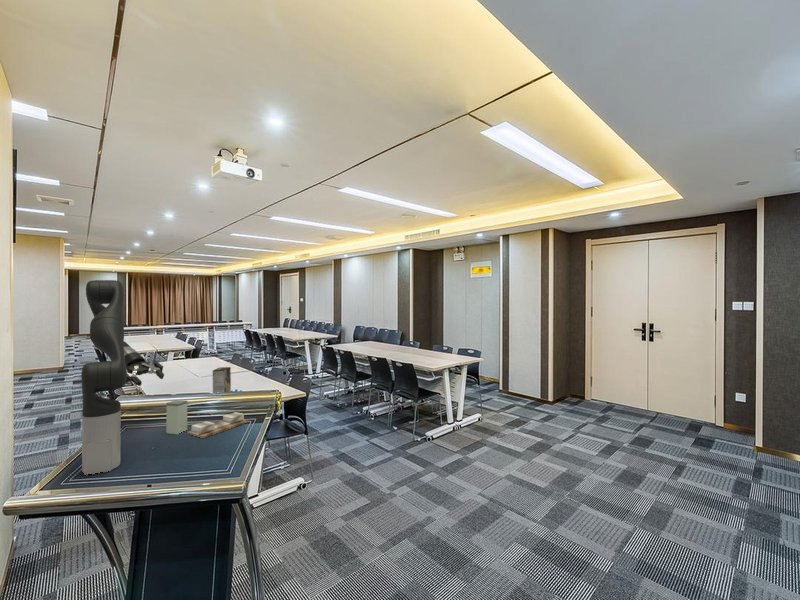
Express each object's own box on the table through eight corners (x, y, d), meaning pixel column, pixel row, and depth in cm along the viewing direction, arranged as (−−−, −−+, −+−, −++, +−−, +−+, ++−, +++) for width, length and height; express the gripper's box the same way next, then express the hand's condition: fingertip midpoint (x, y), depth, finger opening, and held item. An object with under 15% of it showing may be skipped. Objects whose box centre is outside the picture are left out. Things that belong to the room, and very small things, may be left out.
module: (178, 434, 140) (178, 403, 140) (166, 433, 141) (166, 403, 141) (187, 430, 144) (187, 400, 144) (175, 429, 145) (175, 400, 145)
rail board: (203, 438, 135) (203, 429, 135) (187, 434, 139) (187, 424, 139) (247, 423, 152) (247, 414, 152) (232, 419, 157) (232, 411, 157)
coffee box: (219, 395, 198) (219, 367, 198) (231, 395, 199) (231, 366, 199) (212, 400, 189) (212, 370, 189) (224, 399, 189) (224, 369, 190)
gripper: (111, 356, 143) (134, 379, 138) (149, 347, 156) (171, 368, 150) (109, 371, 145) (131, 394, 140) (146, 361, 158) (168, 382, 153)
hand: (151, 380), depth 145 cm, fingers open, 8 cm apart
